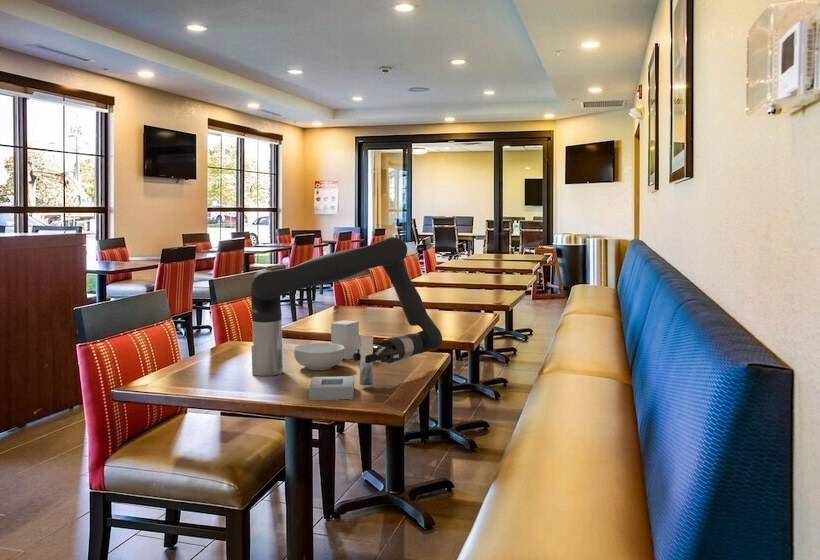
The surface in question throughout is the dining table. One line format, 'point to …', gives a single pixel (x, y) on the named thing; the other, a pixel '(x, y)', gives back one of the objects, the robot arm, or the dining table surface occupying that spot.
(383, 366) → the dining table surface
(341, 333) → the supplement box
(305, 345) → the cereal bowl
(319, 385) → the block
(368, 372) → the pin gauge
